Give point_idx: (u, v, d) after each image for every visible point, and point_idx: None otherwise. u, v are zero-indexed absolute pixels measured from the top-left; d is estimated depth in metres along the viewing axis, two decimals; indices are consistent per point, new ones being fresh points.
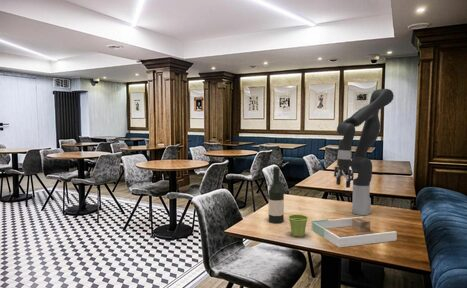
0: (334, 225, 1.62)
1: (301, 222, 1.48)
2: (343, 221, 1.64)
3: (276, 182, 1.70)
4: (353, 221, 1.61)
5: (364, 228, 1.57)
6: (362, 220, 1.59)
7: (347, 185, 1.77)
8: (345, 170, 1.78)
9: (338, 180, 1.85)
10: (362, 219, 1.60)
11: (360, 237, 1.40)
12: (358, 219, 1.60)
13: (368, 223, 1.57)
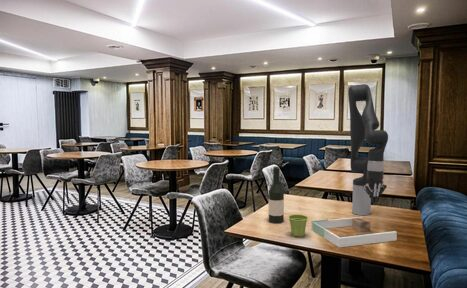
0: (334, 225, 1.62)
1: (301, 222, 1.48)
2: (343, 221, 1.64)
3: (276, 182, 1.70)
4: (353, 221, 1.61)
5: (364, 228, 1.57)
6: (362, 220, 1.59)
7: (376, 201, 1.60)
8: (381, 185, 1.60)
9: None
10: (362, 219, 1.60)
11: (360, 237, 1.40)
12: (358, 219, 1.60)
13: (368, 223, 1.57)
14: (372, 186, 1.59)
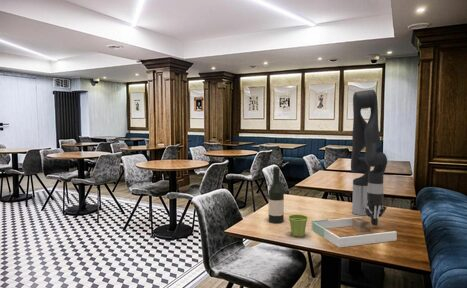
0: (334, 225, 1.62)
1: (301, 222, 1.48)
2: (343, 221, 1.64)
3: (276, 182, 1.70)
4: (353, 221, 1.61)
5: (364, 228, 1.57)
6: (362, 220, 1.59)
7: (376, 222, 1.61)
8: (381, 207, 1.61)
9: None
10: (362, 219, 1.60)
11: (360, 237, 1.40)
12: (358, 219, 1.60)
13: (368, 223, 1.57)
14: (372, 208, 1.59)
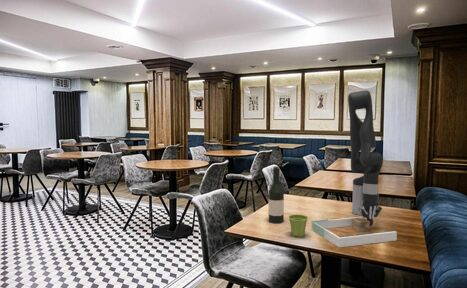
0: (334, 225, 1.62)
1: (301, 222, 1.48)
2: (343, 221, 1.64)
3: (276, 182, 1.70)
4: (352, 221, 1.61)
5: (363, 228, 1.57)
6: (361, 220, 1.59)
7: None
8: (376, 207, 1.60)
9: None
10: (361, 219, 1.60)
11: (360, 237, 1.40)
12: (357, 219, 1.60)
13: (367, 223, 1.57)
14: (367, 209, 1.58)
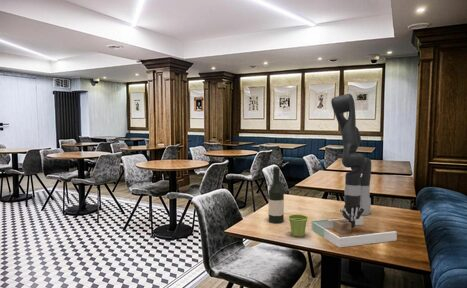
0: None
1: (301, 222, 1.48)
2: None
3: (276, 182, 1.70)
4: (334, 223, 1.57)
5: (345, 230, 1.53)
6: (343, 222, 1.56)
7: (354, 225, 1.57)
8: (358, 209, 1.57)
9: None
10: (343, 221, 1.57)
11: (360, 237, 1.40)
12: (339, 221, 1.57)
13: (349, 225, 1.54)
14: (349, 210, 1.56)
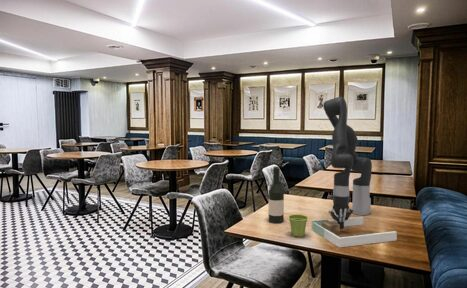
0: None
1: (301, 222, 1.48)
2: None
3: (276, 182, 1.70)
4: (323, 225, 1.56)
5: (333, 232, 1.52)
6: (332, 223, 1.54)
7: (343, 226, 1.56)
8: (347, 210, 1.55)
9: None
10: (332, 222, 1.56)
11: (360, 237, 1.40)
12: (328, 222, 1.56)
13: (337, 226, 1.52)
14: (338, 211, 1.54)
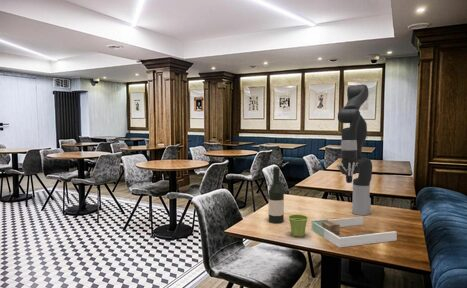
0: None
1: (301, 222, 1.48)
2: (343, 221, 1.64)
3: (276, 182, 1.70)
4: (322, 225, 1.56)
5: (333, 232, 1.52)
6: (332, 223, 1.54)
7: (351, 180, 1.60)
8: (355, 164, 1.60)
9: None
10: (332, 222, 1.56)
11: (360, 237, 1.40)
12: (328, 222, 1.56)
13: (337, 226, 1.52)
14: (346, 165, 1.58)
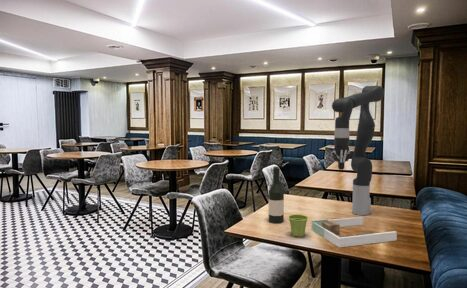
0: None
1: (301, 222, 1.48)
2: (343, 221, 1.64)
3: (276, 182, 1.70)
4: (322, 225, 1.56)
5: (333, 232, 1.52)
6: (332, 223, 1.54)
7: (343, 167, 1.68)
8: (347, 151, 1.67)
9: None
10: (332, 222, 1.56)
11: (360, 237, 1.40)
12: (328, 222, 1.56)
13: (337, 226, 1.52)
14: (339, 152, 1.66)
